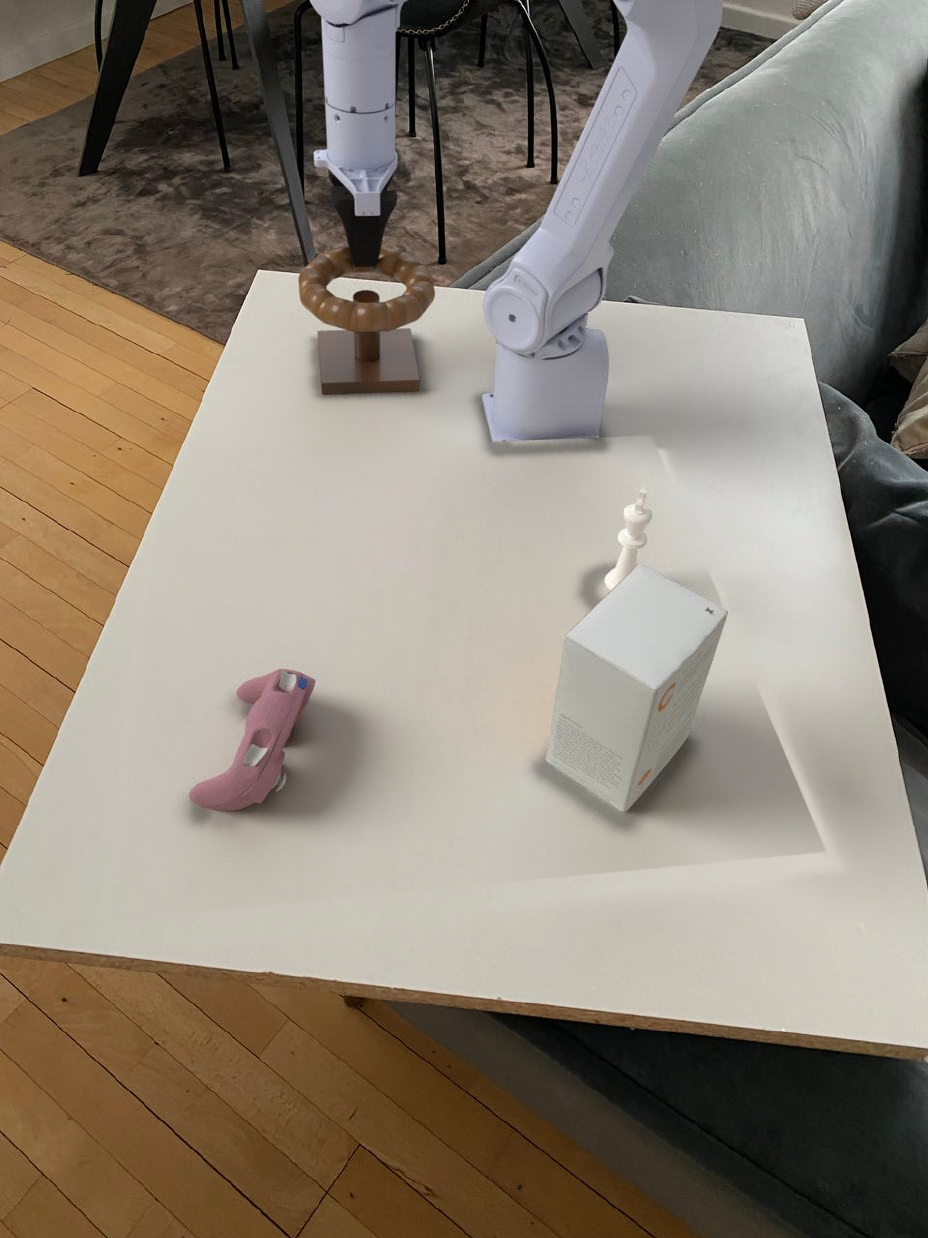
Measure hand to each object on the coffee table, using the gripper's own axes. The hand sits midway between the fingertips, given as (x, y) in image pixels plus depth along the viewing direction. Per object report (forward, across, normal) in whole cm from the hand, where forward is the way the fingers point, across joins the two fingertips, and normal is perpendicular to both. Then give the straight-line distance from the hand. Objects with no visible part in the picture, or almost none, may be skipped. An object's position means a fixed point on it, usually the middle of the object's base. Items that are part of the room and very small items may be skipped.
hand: (363, 256), depth 95 cm
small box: (+9, +51, +13) cm, 53 cm away
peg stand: (+9, +4, 0) cm, 10 cm away
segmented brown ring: (0, +5, 0) cm, 5 cm away
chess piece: (+9, +36, +17) cm, 41 cm away
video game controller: (+9, +49, -10) cm, 51 cm away
